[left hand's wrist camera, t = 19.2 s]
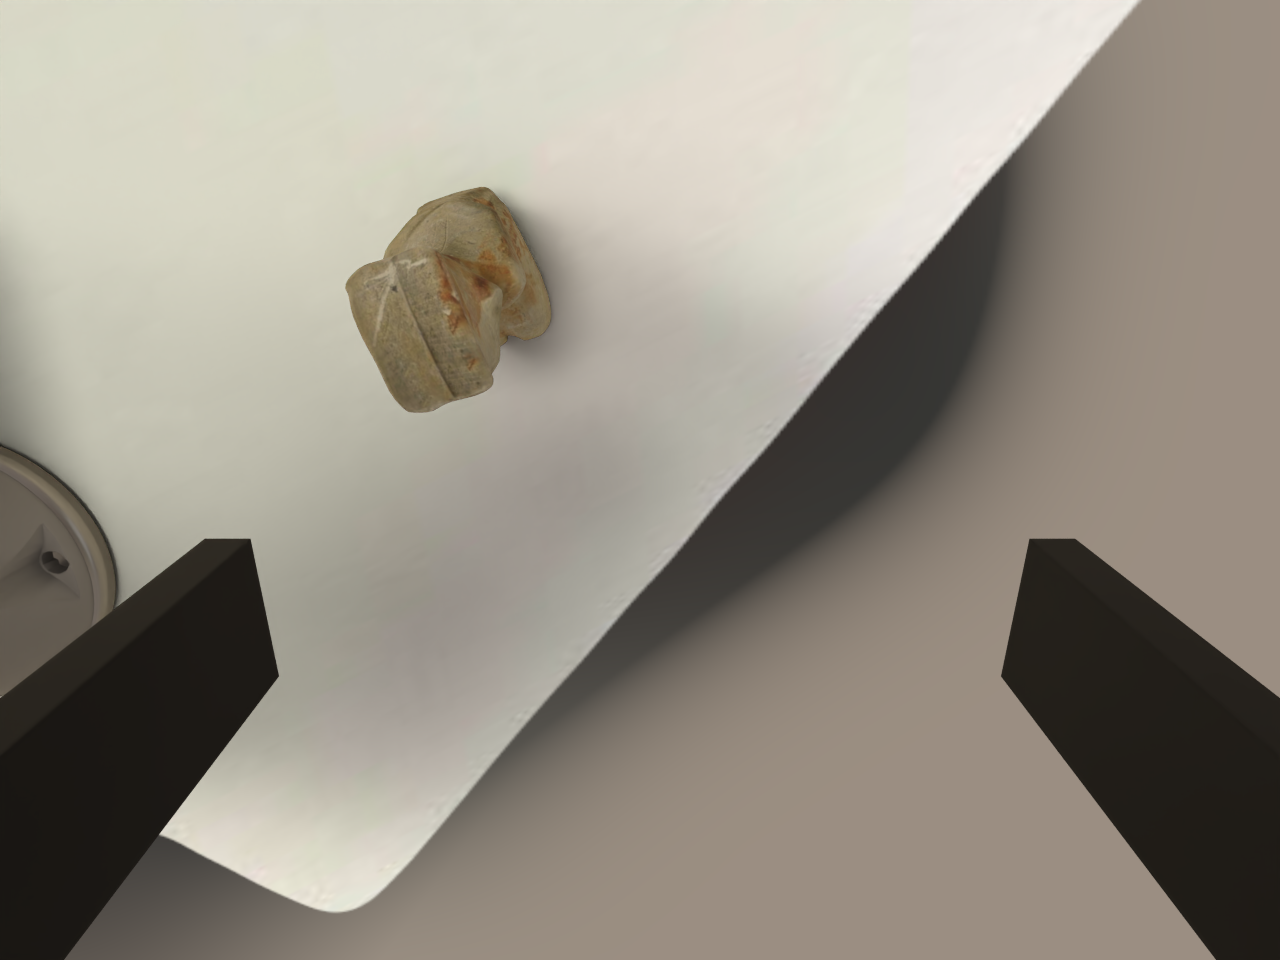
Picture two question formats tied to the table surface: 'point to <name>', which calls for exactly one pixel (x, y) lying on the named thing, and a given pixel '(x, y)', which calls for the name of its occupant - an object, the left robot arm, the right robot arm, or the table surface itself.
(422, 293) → the sculpture
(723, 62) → the table surface
